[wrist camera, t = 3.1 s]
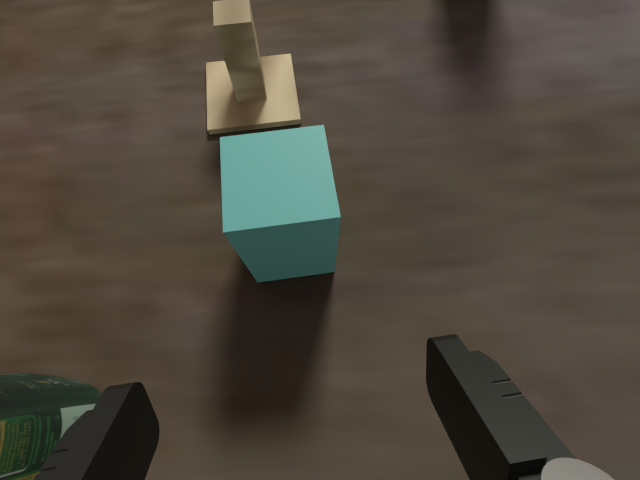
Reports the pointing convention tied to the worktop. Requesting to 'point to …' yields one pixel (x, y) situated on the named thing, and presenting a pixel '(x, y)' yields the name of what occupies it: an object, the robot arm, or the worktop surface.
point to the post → (247, 77)
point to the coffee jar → (37, 419)
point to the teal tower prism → (280, 202)
